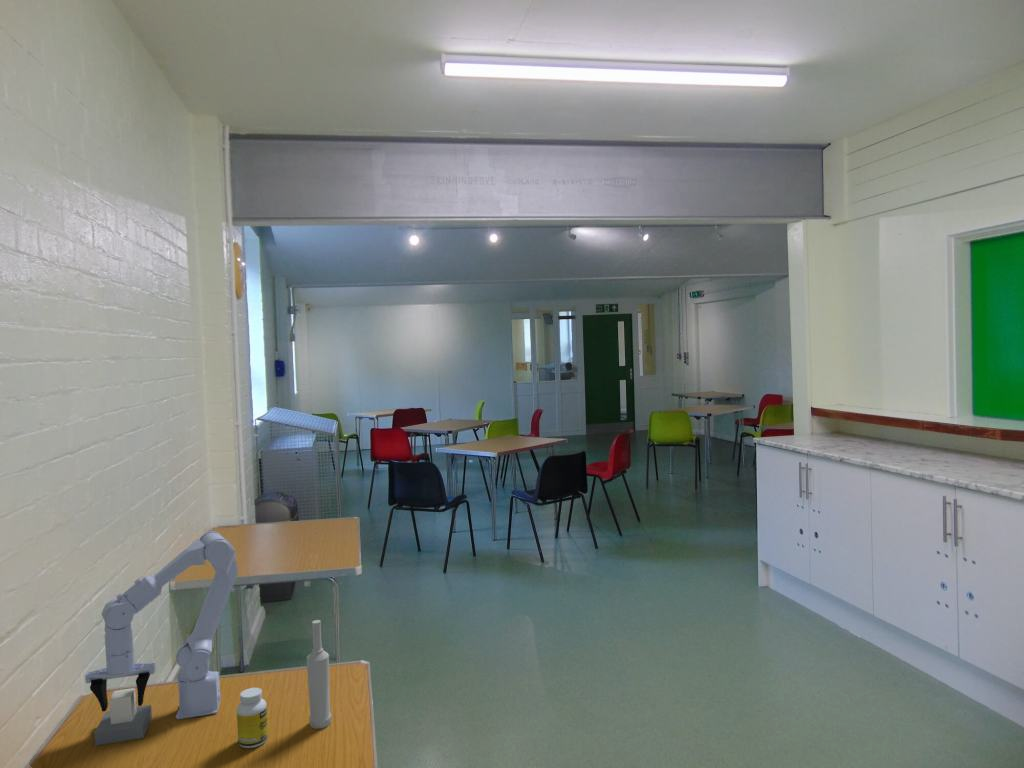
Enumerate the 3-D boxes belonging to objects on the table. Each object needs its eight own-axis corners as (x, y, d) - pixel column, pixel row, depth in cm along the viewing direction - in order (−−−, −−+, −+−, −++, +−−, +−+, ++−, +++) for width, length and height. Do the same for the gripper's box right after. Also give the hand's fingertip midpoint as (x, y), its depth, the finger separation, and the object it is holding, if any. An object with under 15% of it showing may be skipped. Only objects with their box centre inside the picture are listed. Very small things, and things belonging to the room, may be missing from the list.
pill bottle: (258, 750, 160) (255, 700, 159) (232, 748, 161) (229, 698, 161) (273, 735, 166) (271, 686, 166) (248, 732, 168) (246, 684, 167)
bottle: (336, 722, 171) (331, 621, 169) (317, 731, 167) (312, 627, 166) (324, 715, 174) (319, 615, 173) (305, 724, 171) (300, 622, 169)
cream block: (136, 711, 173) (135, 687, 172) (132, 721, 168) (130, 696, 168) (115, 715, 171) (114, 690, 171) (110, 724, 167) (109, 699, 167)
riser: (151, 716, 176) (151, 704, 176) (143, 737, 166) (142, 725, 166) (106, 723, 173) (105, 711, 173) (95, 745, 164) (94, 733, 164)
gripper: (156, 639, 175) (159, 693, 175) (90, 648, 171) (93, 703, 171) (150, 651, 168) (153, 707, 169) (81, 661, 164) (84, 718, 165)
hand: (123, 706), depth 170 cm, fingers open, 7 cm apart
